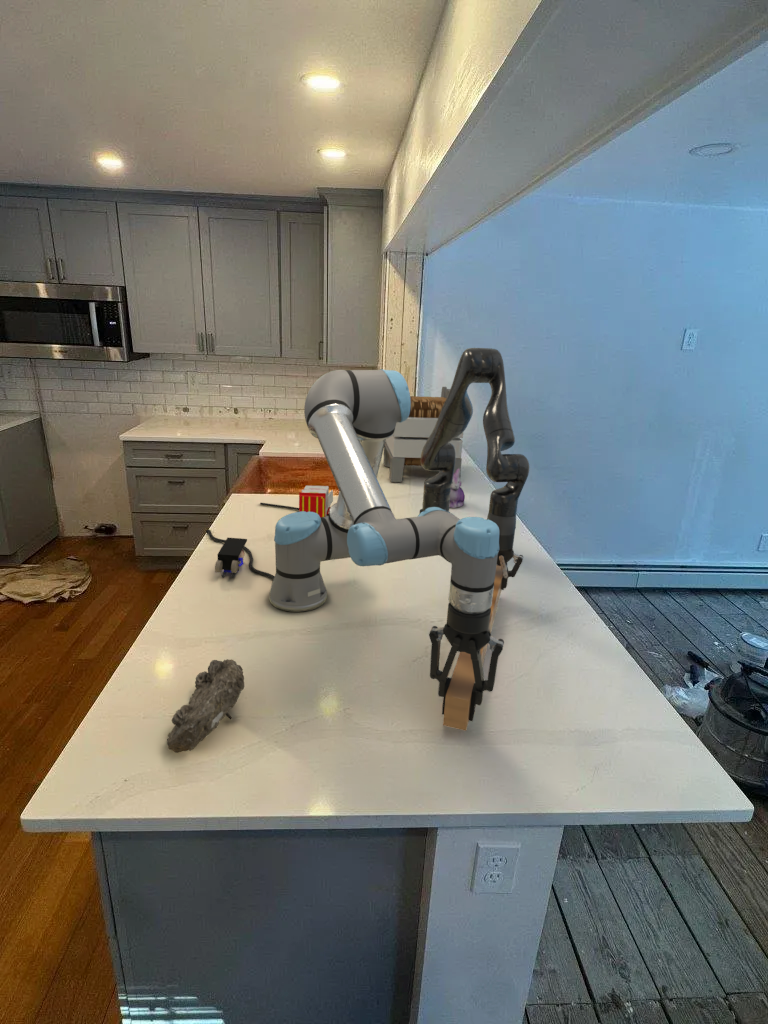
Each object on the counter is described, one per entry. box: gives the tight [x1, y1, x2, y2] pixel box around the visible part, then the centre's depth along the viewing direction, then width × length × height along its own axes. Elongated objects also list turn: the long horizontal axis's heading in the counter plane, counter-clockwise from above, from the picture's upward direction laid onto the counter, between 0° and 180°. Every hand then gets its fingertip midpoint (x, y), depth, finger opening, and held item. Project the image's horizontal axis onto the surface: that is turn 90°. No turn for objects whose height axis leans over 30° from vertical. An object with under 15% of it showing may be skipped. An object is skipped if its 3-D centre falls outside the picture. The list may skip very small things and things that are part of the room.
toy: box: [298, 485, 334, 517], centre depth 210 cm, size 12×13×30 cm
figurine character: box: [214, 537, 248, 578], centre depth 166 cm, size 7×8×15 cm
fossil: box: [166, 658, 245, 754], centre depth 106 cm, size 22×10×15 cm
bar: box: [442, 565, 503, 732], centre depth 130 cm, size 60×4×7 cm, turn 163°
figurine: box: [449, 468, 466, 509], centre depth 230 cm, size 9×10×15 cm
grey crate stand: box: [383, 386, 464, 483], centre depth 268 cm, size 34×33×41 cm
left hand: (458, 713), depth 108 cm, fingers closed on bar, 4 cm apart
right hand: (493, 586), depth 154 cm, fingers closed on bar, 4 cm apart
